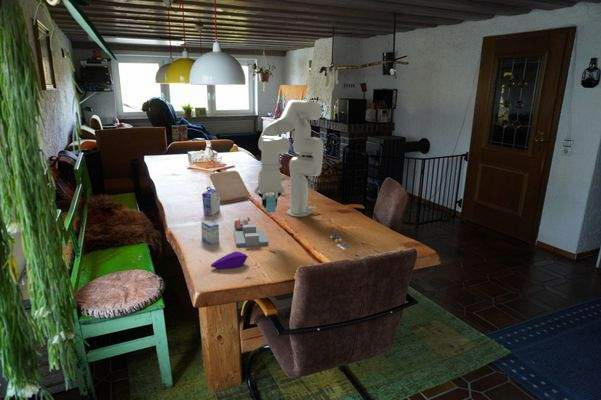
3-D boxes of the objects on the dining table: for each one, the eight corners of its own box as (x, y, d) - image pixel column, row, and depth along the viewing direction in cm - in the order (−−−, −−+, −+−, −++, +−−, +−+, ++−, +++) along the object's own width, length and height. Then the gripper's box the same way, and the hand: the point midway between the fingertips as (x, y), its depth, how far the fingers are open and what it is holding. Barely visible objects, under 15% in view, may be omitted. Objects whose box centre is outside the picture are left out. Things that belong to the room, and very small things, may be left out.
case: (221, 205, 234) (220, 178, 229) (204, 196, 249) (203, 171, 245) (250, 200, 246) (250, 174, 242) (233, 192, 262) (233, 168, 257)
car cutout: (325, 239, 188) (325, 230, 187) (337, 237, 191) (337, 228, 190) (342, 251, 175) (343, 241, 174) (355, 248, 178) (355, 239, 177)
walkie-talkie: (254, 234, 192) (250, 220, 210) (254, 225, 190) (250, 212, 209) (235, 235, 190) (233, 221, 208) (235, 226, 188) (233, 213, 207)
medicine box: (201, 239, 182) (200, 221, 180) (210, 237, 185) (209, 219, 183) (211, 244, 177) (210, 226, 174) (219, 242, 180) (219, 224, 177)
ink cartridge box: (211, 209, 225) (210, 184, 220) (220, 210, 223) (219, 185, 219) (202, 214, 215) (201, 188, 211) (211, 216, 214) (211, 189, 210)
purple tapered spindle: (208, 258, 155) (244, 248, 161) (209, 269, 156) (246, 259, 162) (211, 263, 150) (248, 252, 157) (213, 274, 152) (250, 264, 158)
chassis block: (263, 232, 192) (263, 223, 191) (268, 244, 178) (268, 235, 177) (234, 234, 189) (234, 225, 188) (236, 246, 175) (236, 237, 174)
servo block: (271, 206, 187) (272, 190, 185) (276, 213, 177) (276, 196, 175) (263, 207, 186) (263, 191, 184) (267, 214, 176) (267, 197, 174)
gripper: (286, 165, 182) (285, 203, 187) (249, 165, 177) (250, 205, 183) (290, 168, 175) (289, 208, 180) (252, 169, 171) (252, 210, 176)
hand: (269, 206), depth 181 cm, fingers closed on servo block, 4 cm apart
